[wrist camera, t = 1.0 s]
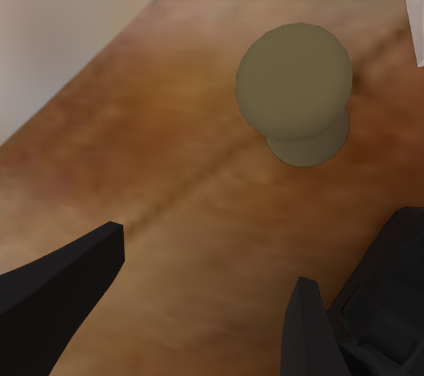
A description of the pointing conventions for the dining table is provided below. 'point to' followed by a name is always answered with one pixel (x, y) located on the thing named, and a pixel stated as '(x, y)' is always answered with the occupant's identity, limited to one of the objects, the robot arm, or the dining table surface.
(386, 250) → the film camera
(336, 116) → the cork
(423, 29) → the milk
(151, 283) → the dining table surface
